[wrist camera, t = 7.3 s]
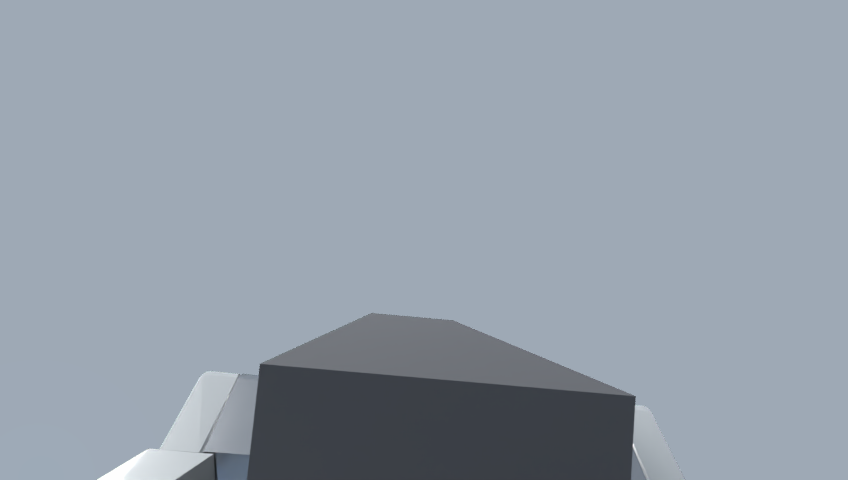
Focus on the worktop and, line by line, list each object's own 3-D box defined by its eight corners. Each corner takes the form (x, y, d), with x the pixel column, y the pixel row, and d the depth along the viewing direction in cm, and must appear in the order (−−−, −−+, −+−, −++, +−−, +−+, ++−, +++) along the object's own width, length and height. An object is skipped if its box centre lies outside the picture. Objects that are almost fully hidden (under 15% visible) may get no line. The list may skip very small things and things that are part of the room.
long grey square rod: (363, 396, 25) (371, 313, 25) (445, 403, 25) (452, 320, 25) (213, 774, 5) (260, 363, 5) (614, 801, 5) (635, 396, 6)
